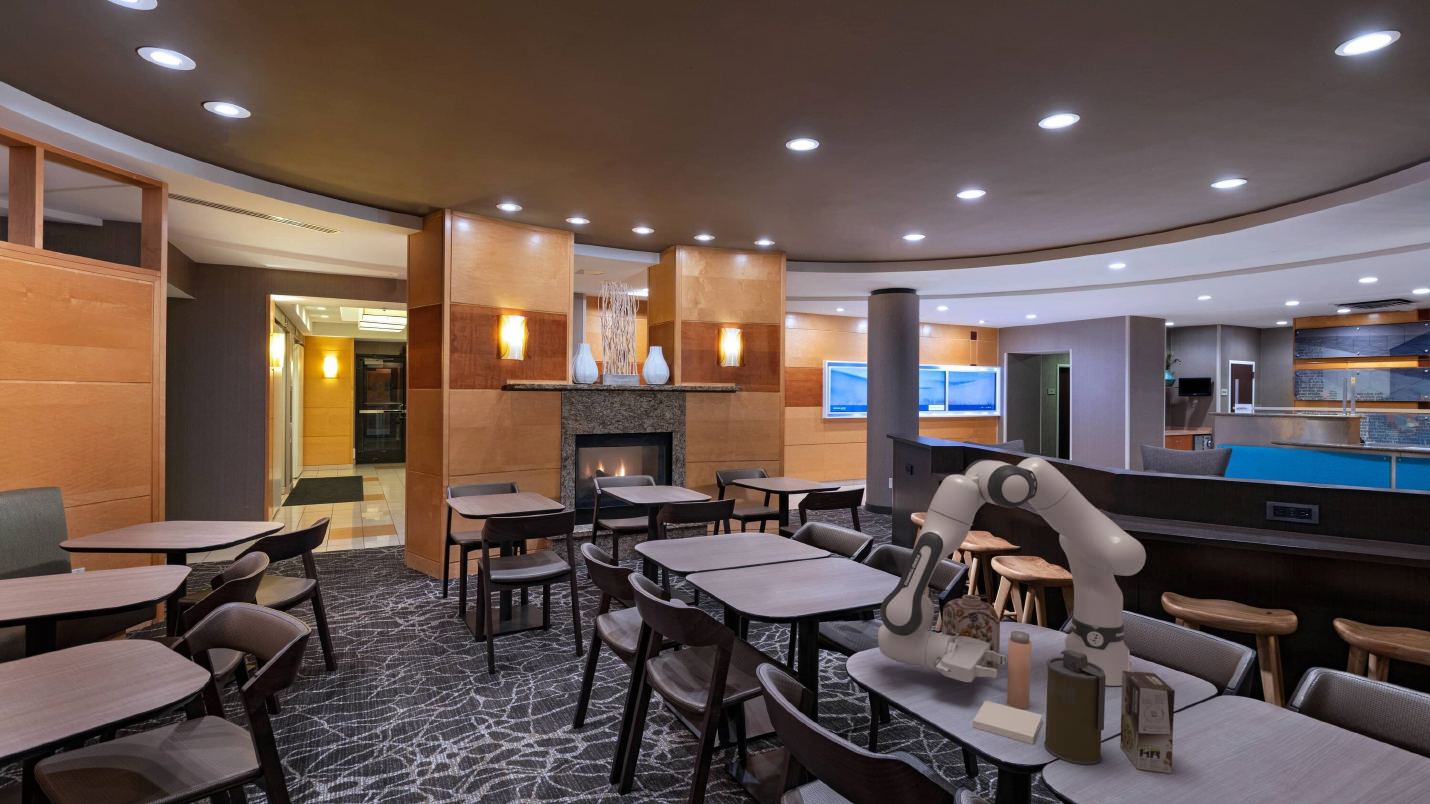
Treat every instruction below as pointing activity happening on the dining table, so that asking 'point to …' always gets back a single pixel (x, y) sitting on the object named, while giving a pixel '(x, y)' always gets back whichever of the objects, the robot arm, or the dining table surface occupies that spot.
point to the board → (1008, 721)
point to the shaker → (1019, 670)
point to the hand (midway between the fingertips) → (1001, 666)
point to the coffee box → (1147, 721)
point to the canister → (1075, 708)
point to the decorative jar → (973, 622)
